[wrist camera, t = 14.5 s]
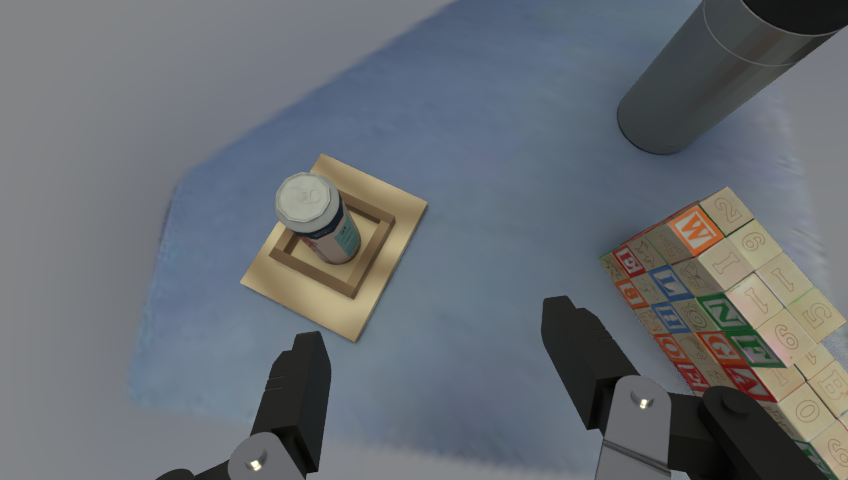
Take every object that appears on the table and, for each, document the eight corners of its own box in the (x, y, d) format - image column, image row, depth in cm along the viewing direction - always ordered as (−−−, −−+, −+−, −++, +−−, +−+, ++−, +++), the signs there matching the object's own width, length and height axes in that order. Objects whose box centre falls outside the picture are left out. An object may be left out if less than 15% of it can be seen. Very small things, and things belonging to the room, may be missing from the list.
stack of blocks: (782, 414, 36) (959, 447, 24) (733, 451, 35) (893, 503, 23) (640, 230, 41) (730, 183, 29) (594, 258, 40) (668, 221, 28)
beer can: (313, 224, 39) (268, 171, 28) (358, 217, 39) (333, 162, 28) (316, 268, 38) (271, 232, 26) (364, 261, 38) (339, 222, 27)
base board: (325, 159, 43) (316, 143, 39) (427, 207, 41) (428, 194, 38) (246, 285, 39) (230, 279, 35) (356, 342, 37) (350, 341, 34)
